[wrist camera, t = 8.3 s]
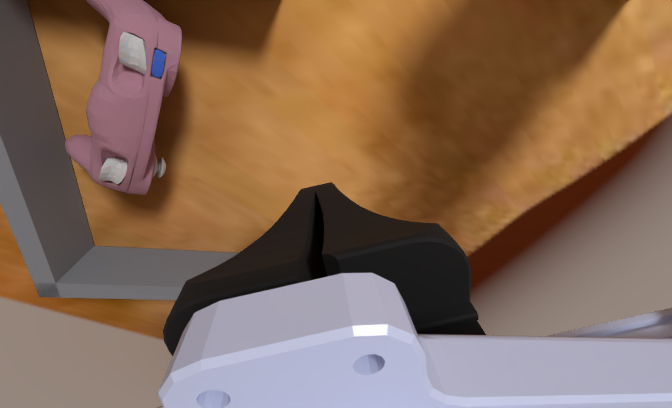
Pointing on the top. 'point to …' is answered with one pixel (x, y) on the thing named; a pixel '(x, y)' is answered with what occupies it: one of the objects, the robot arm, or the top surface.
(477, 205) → the top surface
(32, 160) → the box
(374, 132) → the top surface
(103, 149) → the video game controller
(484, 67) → the top surface
